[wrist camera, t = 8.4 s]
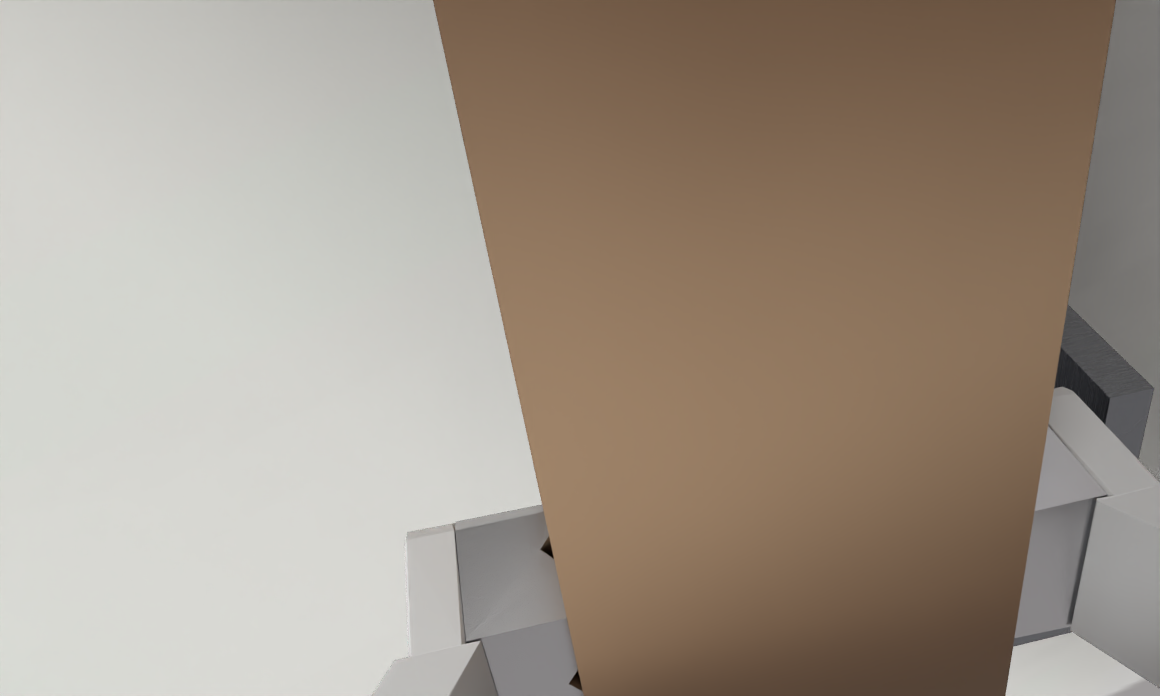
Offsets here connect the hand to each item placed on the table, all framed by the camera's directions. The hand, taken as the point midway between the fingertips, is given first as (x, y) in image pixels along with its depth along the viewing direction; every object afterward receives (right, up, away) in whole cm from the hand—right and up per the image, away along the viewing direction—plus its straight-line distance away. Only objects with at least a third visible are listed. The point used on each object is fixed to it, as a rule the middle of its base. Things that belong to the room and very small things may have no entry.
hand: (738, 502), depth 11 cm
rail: (0, +1, +2) cm, 3 cm away
